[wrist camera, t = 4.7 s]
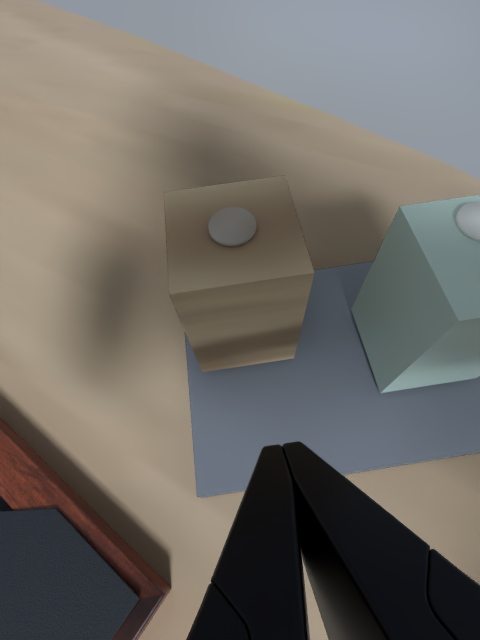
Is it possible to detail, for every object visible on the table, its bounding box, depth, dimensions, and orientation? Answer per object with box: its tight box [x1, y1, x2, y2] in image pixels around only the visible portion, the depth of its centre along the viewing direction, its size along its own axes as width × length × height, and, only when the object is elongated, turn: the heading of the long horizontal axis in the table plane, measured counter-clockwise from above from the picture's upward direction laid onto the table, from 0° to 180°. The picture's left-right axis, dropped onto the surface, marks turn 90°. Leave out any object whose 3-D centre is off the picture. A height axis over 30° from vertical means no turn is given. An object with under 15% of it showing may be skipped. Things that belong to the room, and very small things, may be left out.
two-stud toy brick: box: [351, 195, 480, 393], centre depth 14 cm, size 4×4×7 cm
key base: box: [185, 261, 480, 498], centre depth 18 cm, size 10×14×2 cm
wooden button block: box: [164, 175, 315, 372], centre depth 15 cm, size 4×4×7 cm
